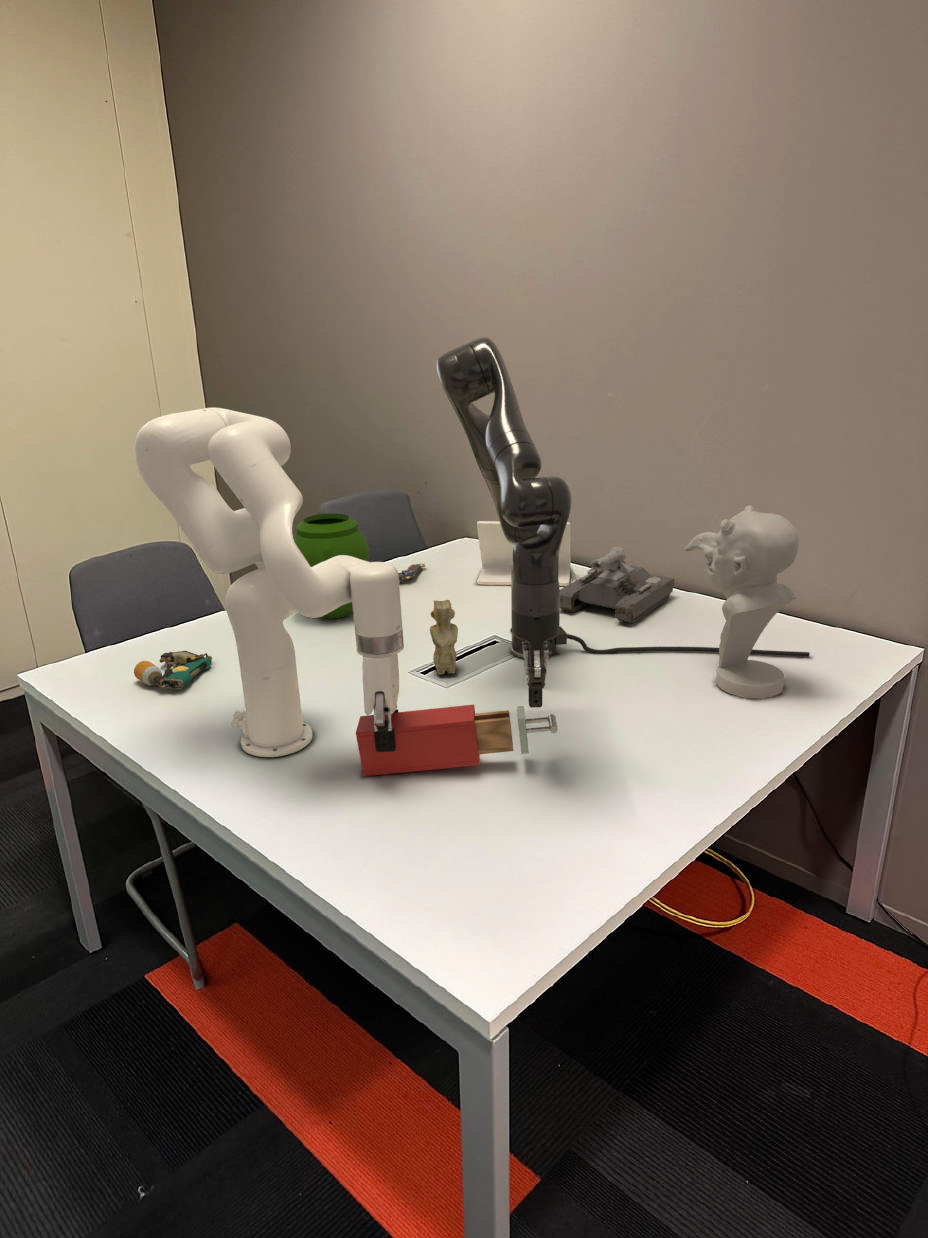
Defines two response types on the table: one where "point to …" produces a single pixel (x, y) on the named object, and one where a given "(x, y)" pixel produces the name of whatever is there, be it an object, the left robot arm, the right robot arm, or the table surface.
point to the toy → (617, 588)
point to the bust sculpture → (748, 593)
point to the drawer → (506, 730)
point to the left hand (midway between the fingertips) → (388, 740)
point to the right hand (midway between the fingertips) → (535, 705)
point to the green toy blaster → (172, 669)
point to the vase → (331, 544)
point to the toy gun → (410, 571)
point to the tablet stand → (511, 555)
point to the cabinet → (421, 741)
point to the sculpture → (444, 637)
